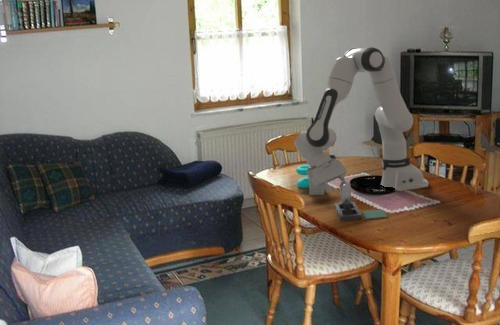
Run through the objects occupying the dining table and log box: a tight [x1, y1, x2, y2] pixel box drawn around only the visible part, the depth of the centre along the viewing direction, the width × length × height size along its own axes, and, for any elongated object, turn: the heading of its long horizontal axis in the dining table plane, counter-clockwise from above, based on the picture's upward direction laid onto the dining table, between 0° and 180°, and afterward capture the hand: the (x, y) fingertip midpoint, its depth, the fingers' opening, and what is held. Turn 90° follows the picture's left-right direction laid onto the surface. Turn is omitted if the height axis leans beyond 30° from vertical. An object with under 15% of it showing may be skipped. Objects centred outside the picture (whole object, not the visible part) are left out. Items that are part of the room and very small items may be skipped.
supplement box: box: [307, 166, 326, 196], centre depth 288 cm, size 7×7×13 cm
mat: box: [361, 208, 388, 221], centre depth 253 cm, size 9×9×1 cm
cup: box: [339, 182, 352, 209], centre depth 260 cm, size 5×5×12 cm
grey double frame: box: [334, 201, 363, 222], centre depth 258 cm, size 9×17×2 cm, turn 0°
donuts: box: [295, 164, 309, 189], centre depth 300 cm, size 10×10×10 cm
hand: (338, 187), depth 262 cm, fingers open, 8 cm apart
